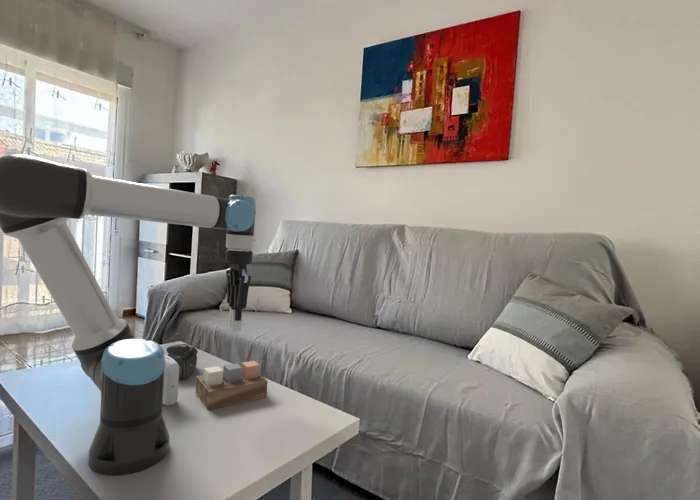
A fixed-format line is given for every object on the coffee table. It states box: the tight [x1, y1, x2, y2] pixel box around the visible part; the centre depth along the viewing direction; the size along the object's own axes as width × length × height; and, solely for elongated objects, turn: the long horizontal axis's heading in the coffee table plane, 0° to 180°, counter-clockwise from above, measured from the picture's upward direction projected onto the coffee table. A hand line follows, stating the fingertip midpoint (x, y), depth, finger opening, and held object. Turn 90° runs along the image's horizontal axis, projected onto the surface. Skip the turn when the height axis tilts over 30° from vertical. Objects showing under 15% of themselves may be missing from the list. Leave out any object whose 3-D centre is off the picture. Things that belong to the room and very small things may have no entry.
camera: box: [166, 343, 199, 380], centre depth 130 cm, size 13×10×10 cm
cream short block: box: [203, 365, 223, 387], centre depth 113 cm, size 4×4×5 cm
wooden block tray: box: [195, 373, 268, 411], centre depth 117 cm, size 12×17×5 cm
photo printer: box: [162, 354, 180, 406], centre depth 111 cm, size 10×4×12 cm, turn 56°
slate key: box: [222, 362, 242, 383], centre depth 116 cm, size 4×4×5 cm
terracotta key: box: [240, 360, 260, 380], centre depth 120 cm, size 4×4×5 cm
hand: (234, 330), depth 116 cm, fingers closed
